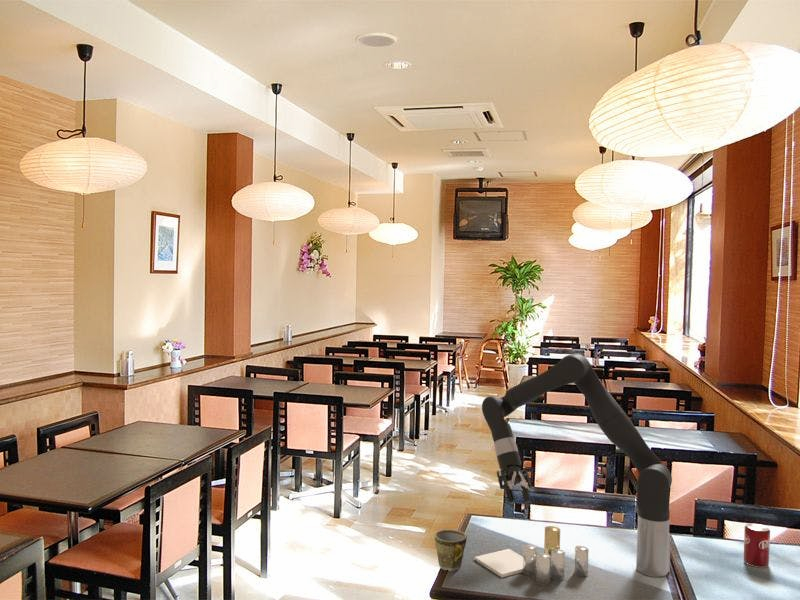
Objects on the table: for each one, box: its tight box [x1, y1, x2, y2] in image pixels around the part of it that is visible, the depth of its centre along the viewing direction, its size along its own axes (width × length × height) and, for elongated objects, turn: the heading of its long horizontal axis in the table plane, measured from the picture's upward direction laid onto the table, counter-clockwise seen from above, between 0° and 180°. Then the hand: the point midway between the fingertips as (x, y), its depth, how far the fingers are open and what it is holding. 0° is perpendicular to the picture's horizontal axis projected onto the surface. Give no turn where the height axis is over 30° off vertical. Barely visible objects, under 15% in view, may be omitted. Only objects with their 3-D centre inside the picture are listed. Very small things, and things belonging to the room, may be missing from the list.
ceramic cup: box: [434, 528, 467, 572], centre depth 206 cm, size 13×10×10 cm
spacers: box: [522, 544, 589, 586], centre depth 204 cm, size 18×12×8 cm, turn 120°
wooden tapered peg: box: [543, 525, 561, 570], centre depth 209 cm, size 5×5×12 cm
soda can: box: [743, 522, 771, 568], centre depth 214 cm, size 7×7×12 cm
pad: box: [474, 548, 537, 578], centre depth 210 cm, size 14×14×1 cm
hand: (520, 501), depth 217 cm, fingers open, 8 cm apart
